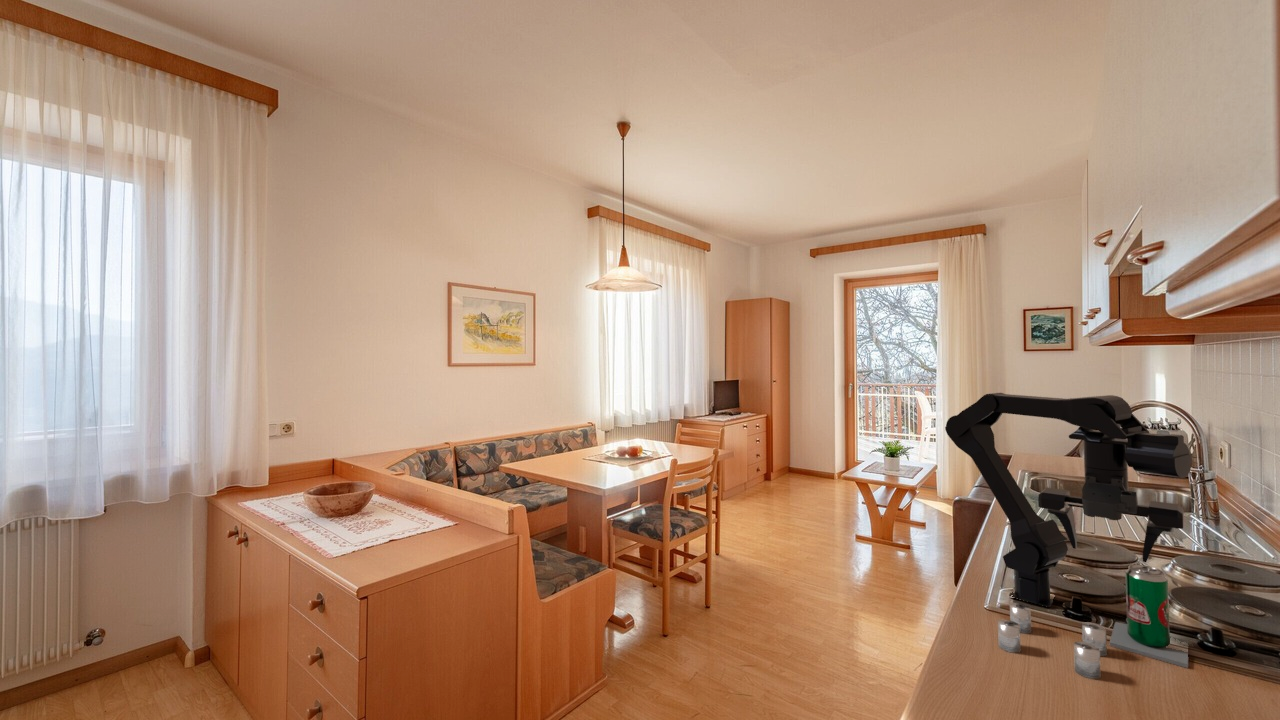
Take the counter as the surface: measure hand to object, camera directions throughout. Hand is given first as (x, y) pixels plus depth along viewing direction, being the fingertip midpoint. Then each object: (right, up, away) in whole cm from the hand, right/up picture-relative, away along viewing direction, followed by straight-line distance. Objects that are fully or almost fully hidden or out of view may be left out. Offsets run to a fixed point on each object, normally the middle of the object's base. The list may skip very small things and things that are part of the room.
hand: (1108, 554), depth 91 cm
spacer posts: (-14, -14, -6) cm, 21 cm away
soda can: (+2, -13, -5) cm, 14 cm away
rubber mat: (+2, -13, -6) cm, 14 cm away
